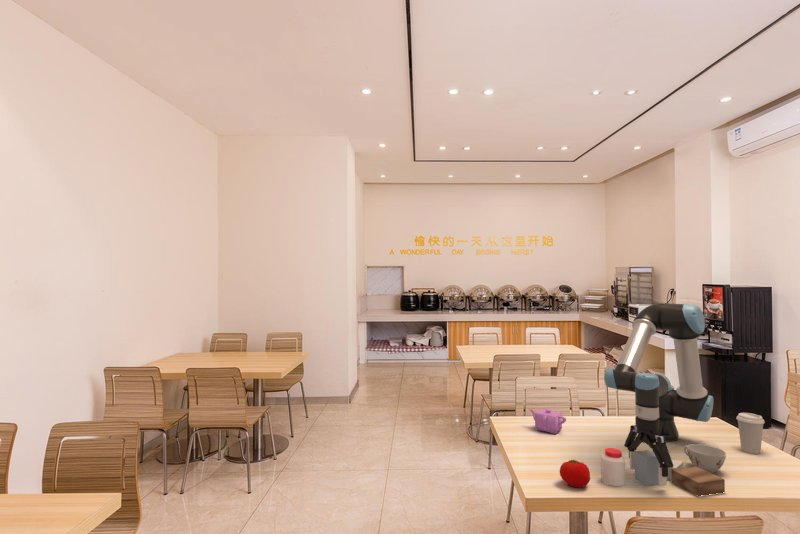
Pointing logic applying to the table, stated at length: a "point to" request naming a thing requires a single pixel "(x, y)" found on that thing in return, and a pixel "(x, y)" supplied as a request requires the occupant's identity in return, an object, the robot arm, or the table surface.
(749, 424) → the coffee cup
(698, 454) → the teacup
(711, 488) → the walnut block
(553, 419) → the teapot
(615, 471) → the pill bottle
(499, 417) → the table surface
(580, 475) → the tomato
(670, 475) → the grey block
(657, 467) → the slate block
